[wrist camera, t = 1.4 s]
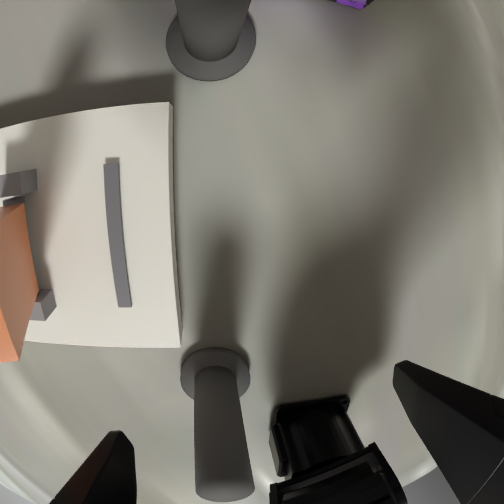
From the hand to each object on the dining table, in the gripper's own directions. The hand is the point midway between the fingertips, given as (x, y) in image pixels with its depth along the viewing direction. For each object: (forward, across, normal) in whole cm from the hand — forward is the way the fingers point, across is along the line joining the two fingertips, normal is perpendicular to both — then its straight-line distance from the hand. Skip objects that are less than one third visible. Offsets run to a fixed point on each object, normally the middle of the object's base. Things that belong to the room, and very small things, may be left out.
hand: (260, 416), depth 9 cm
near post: (+12, -2, -14) cm, 18 cm away
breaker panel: (+12, +10, -6) cm, 16 cm away
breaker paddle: (+9, +11, -6) cm, 15 cm away
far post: (+12, +3, +8) cm, 14 cm away
